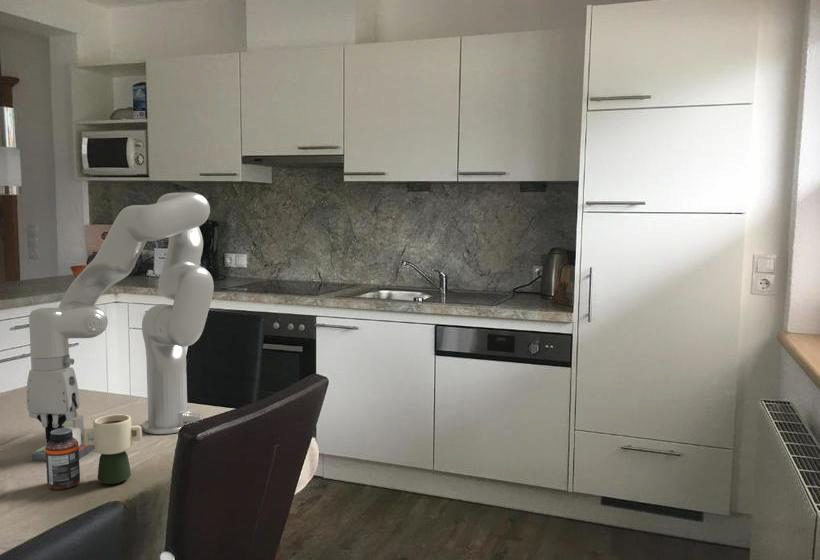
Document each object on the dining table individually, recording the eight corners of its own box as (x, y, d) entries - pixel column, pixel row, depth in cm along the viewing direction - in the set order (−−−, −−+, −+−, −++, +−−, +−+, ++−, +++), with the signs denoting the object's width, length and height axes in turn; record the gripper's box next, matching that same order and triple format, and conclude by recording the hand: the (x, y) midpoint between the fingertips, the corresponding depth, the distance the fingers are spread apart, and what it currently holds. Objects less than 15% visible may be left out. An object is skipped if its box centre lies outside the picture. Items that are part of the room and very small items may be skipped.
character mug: (144, 471, 144) (142, 411, 143) (141, 484, 137) (139, 421, 136) (87, 477, 141) (85, 416, 140) (82, 490, 134) (80, 426, 133)
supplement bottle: (55, 479, 139) (52, 426, 138) (85, 479, 140) (82, 425, 139) (41, 491, 134) (39, 435, 132) (73, 490, 134) (70, 435, 133)
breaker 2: (83, 431, 164) (83, 415, 163) (75, 436, 160) (75, 419, 160) (71, 431, 164) (71, 415, 164) (63, 435, 161) (63, 419, 160)
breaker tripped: (81, 444, 155) (80, 427, 154) (72, 449, 151) (71, 432, 151) (68, 444, 155) (67, 427, 154) (59, 449, 151) (58, 432, 151)
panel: (111, 438, 165) (111, 431, 165) (74, 461, 150) (74, 454, 149) (72, 436, 166) (72, 430, 166) (31, 460, 150) (31, 453, 150)
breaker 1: (73, 437, 159) (72, 421, 159) (64, 442, 156) (64, 425, 156) (60, 437, 160) (60, 420, 159) (52, 442, 156) (51, 425, 156)
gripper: (91, 360, 155) (95, 438, 156) (29, 359, 156) (33, 436, 158) (72, 367, 147) (76, 450, 149) (7, 366, 148) (12, 447, 150)
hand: (54, 442), depth 153 cm, fingers closed
